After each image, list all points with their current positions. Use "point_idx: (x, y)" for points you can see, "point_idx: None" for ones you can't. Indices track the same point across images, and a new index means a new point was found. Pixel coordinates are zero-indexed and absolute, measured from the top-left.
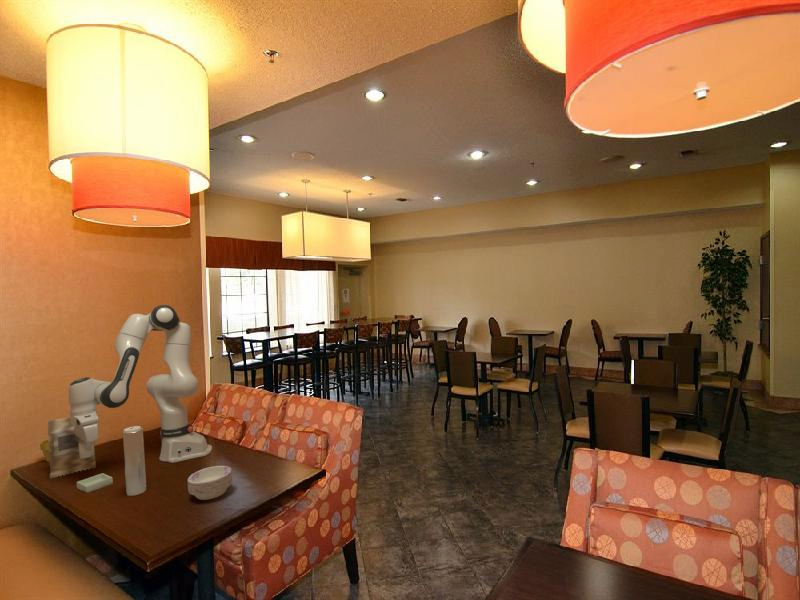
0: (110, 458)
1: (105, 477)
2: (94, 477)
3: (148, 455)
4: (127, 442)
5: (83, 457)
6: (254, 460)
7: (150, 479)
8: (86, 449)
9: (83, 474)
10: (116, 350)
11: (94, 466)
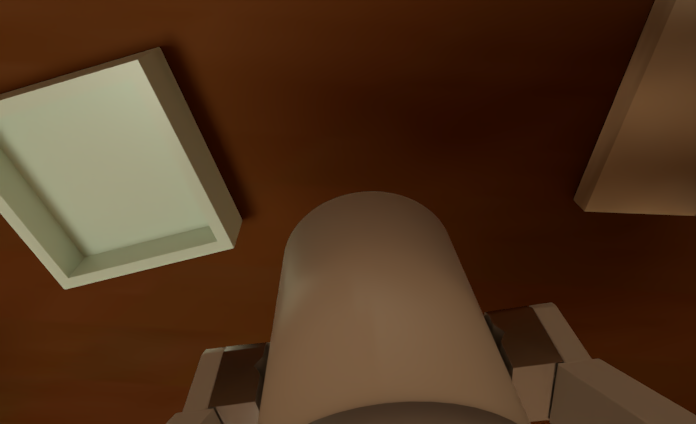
0: (676, 284)
1: (156, 247)
2: (195, 190)
3: None
4: None
5: (295, 234)
6: None
7: (33, 395)
8: (203, 372)
9: (499, 114)
10: None
11: (583, 198)
